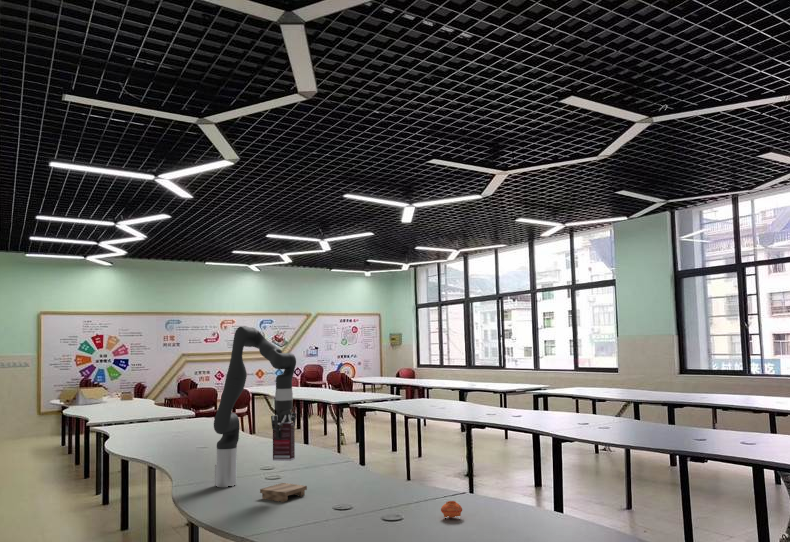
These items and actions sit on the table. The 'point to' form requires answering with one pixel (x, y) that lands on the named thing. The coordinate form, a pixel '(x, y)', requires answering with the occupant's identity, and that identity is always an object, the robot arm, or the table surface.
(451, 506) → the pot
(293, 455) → the supplement box
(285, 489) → the tan board
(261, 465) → the table surface
